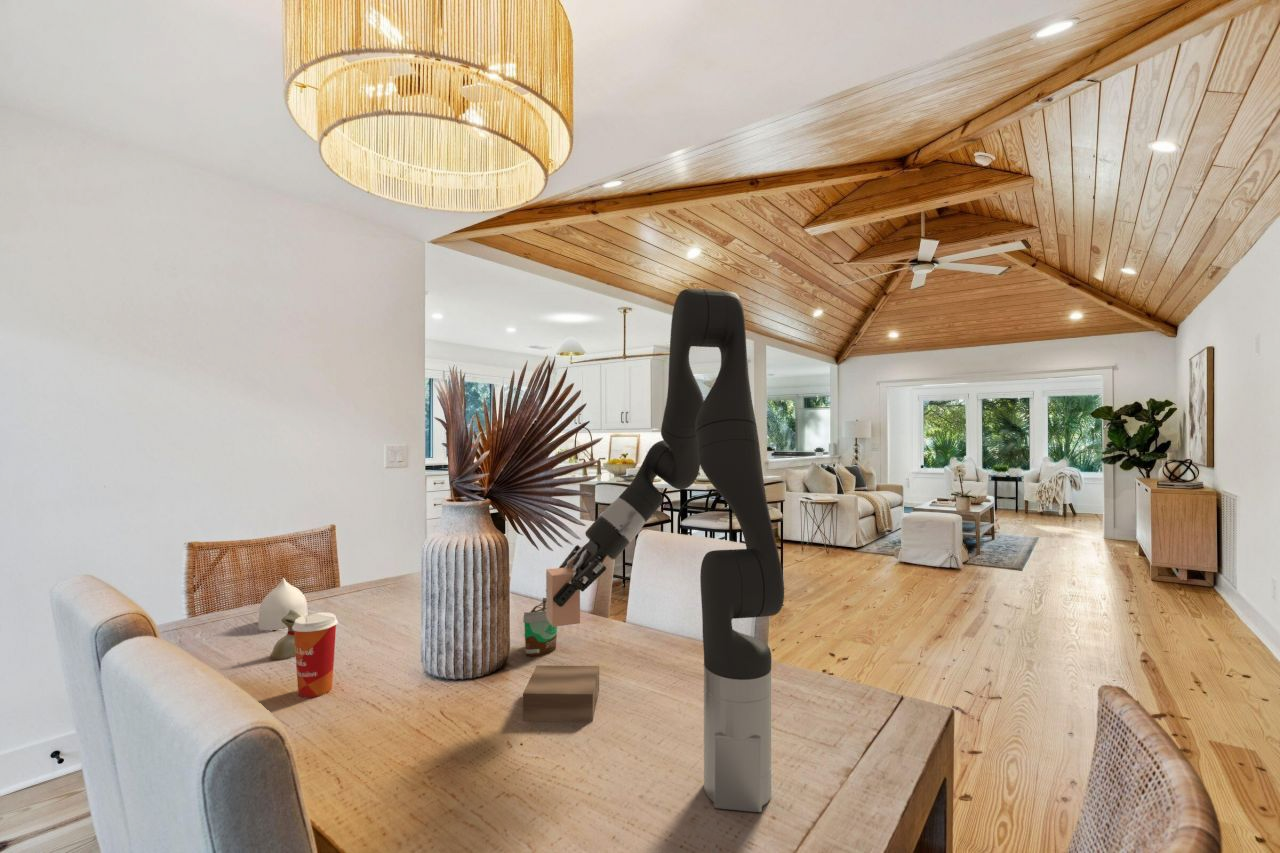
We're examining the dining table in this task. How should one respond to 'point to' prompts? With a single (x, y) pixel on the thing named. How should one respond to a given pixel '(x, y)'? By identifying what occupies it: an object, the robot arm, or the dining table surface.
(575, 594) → the peach tall block
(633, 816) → the dining table surface
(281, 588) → the teardrop
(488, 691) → the dining table surface
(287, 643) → the tied pouch
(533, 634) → the food container
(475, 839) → the dining table surface
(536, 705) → the walnut block
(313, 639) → the paper cup
